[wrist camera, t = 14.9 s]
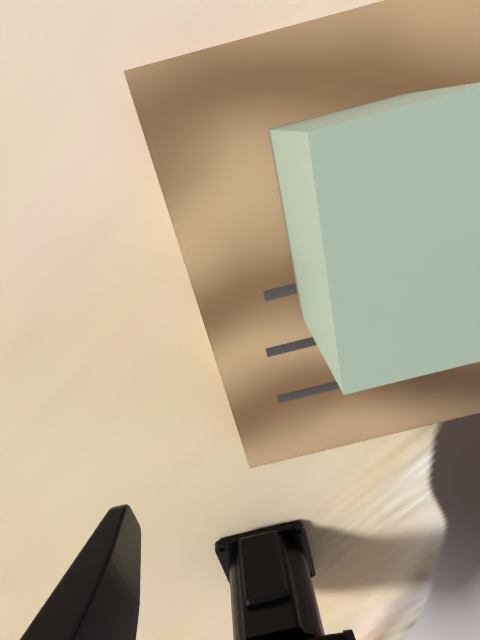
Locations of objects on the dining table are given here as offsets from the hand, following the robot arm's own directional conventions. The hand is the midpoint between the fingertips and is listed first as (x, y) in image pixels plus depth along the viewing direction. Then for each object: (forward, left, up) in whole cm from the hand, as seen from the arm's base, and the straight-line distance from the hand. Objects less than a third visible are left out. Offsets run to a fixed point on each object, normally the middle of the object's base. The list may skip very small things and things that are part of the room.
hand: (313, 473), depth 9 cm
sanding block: (+3, -4, -10) cm, 11 cm away
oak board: (0, -4, -11) cm, 12 cm away
